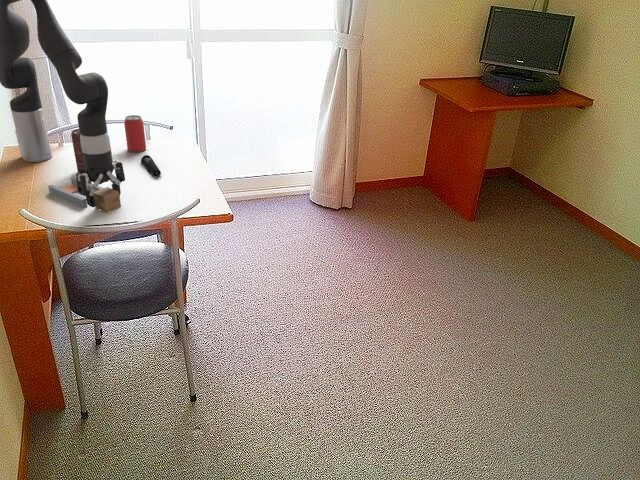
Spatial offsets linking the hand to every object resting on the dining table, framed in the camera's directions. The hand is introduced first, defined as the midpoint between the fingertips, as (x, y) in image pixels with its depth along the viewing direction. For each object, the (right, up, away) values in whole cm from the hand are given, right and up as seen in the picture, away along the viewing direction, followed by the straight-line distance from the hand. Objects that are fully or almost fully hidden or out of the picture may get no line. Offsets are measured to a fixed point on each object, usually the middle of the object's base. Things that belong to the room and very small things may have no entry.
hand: (104, 201), depth 158 cm
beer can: (-5, +22, +42) cm, 47 cm away
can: (-14, +11, +22) cm, 28 cm away
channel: (-10, +2, +6) cm, 12 cm away
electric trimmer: (+5, +13, +27) cm, 31 cm away
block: (+1, -2, +1) cm, 2 cm away
